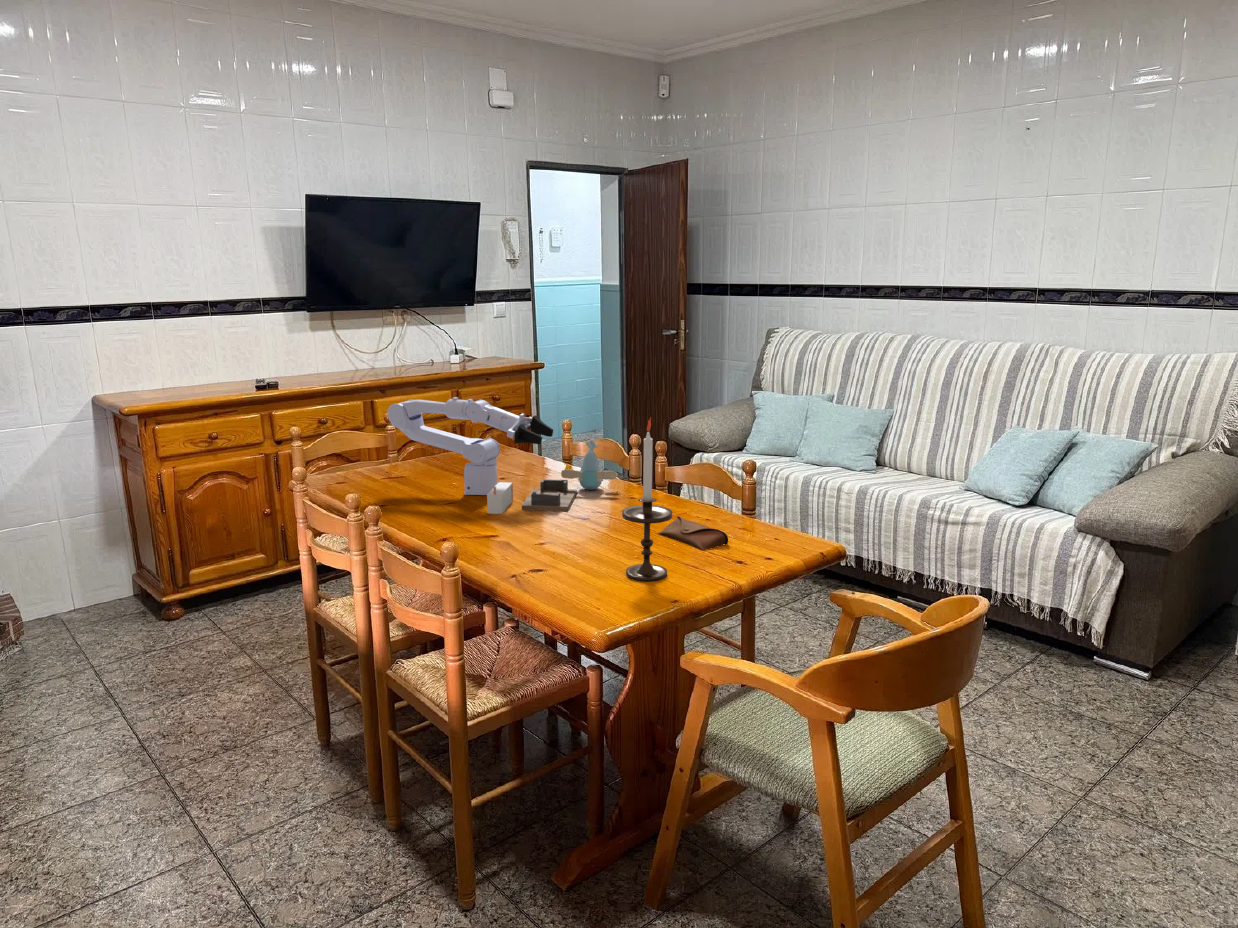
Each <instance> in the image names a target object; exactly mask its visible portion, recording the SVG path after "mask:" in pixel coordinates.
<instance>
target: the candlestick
mask: <svg viewBox="0 0 1238 928" xmlns="http://www.w3.org/2000/svg"><path fill="white" fill-rule="evenodd" d="M651 427H652V417H649V420H648V421H647V427H646V435H645V438H643V465H642V466H643V472H642V473H643V474H642V475H643V479H642V482H643V483H642V484H643V485H642V487H643V488H642V489H643V490H642V497H641V498H638V502H640V503H642V504H639V505H638V504H637V505H631V506H628V507H625V508H623V509H622V511H621V516H622V519H624V520H626V521H627V522H631V523H637V524H643V538H642V539H641V540H640V545H641V546H642V549H643V550H642V551H640V552H641V553H640V554H641V555H642V556H643V562H642V563H638V564H633V565H631V566H629V567H627V568H626V570H625V577H627V578H628V579H630V580H632V581H635V582H640V583H641V582H642V583H653V582H660V581H662V580H664V579H666V578H667V577H668V570H667V568H665V567H664V566H662V565H657V564H652V563H651V560H650V559H651V558H650V557H651V555H653V551H651V547H652V546H654V545H653V544H654V540H653V539H651V524H659V523H660V524H661V523H665V522H667V521H670V520H671V519H673V510H672V509H671V508H668V507H666V506H661V505H655V504H653V503H654V502H657V500H658V499H656V498H653V445H654V444H653V438H652V437H651V434H650V430H651Z"/></svg>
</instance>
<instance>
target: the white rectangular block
mask: <svg viewBox="0 0 1238 928" xmlns="http://www.w3.org/2000/svg"><path fill="white" fill-rule="evenodd" d="M513 501H514V485H513V482H507V481H506V482H505V481H504V482H501V481H499V482H497V485H496V486H495V487H493V489H492V490H491V491H490V492H489V493H488V494H487V495H486V502H487V514H491V515H492V514H493V515H494V514H495V515H498V514H499V515H502V514H503V513H505V511H506V510H507V508H508V507H509V506H510V505H511V504H512V503H513Z"/></svg>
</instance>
